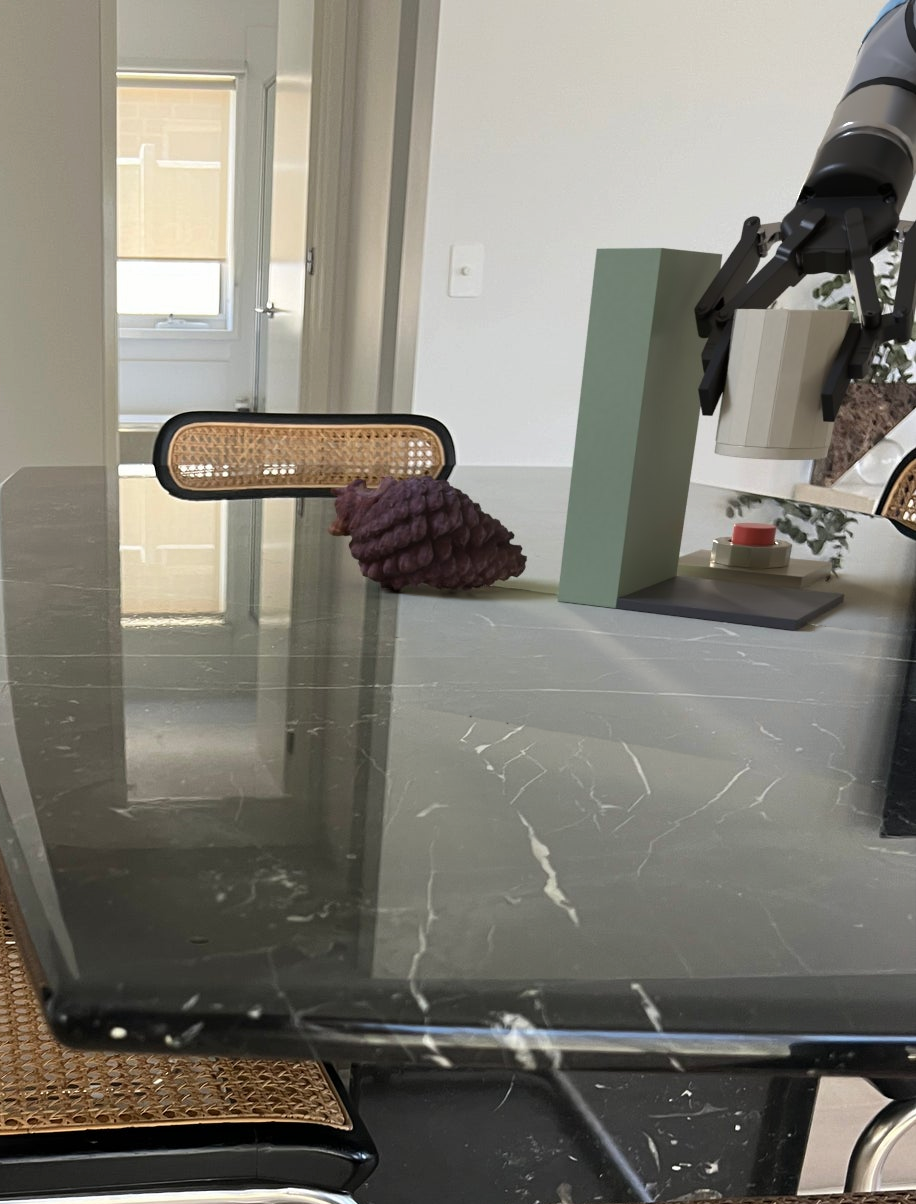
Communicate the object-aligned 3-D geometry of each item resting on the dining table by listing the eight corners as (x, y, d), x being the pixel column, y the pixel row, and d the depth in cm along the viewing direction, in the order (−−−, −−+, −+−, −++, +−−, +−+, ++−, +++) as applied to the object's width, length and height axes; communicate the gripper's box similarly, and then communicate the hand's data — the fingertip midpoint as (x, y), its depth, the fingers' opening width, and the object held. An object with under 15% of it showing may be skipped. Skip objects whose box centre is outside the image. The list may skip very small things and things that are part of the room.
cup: (838, 454, 111) (865, 310, 107) (810, 462, 105) (837, 310, 101) (732, 448, 115) (754, 309, 111) (699, 455, 109) (721, 308, 105)
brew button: (778, 545, 132) (781, 525, 131) (766, 549, 129) (769, 529, 128) (738, 541, 134) (741, 521, 133) (725, 546, 131) (728, 525, 130)
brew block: (830, 575, 133) (836, 541, 132) (800, 590, 125) (806, 555, 124) (699, 562, 139) (704, 529, 138) (663, 575, 132) (667, 541, 131)
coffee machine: (842, 603, 120) (909, 252, 109) (795, 630, 110) (864, 245, 99) (620, 578, 130) (661, 254, 120) (557, 601, 120) (596, 248, 109)
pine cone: (519, 579, 129) (555, 487, 121) (493, 652, 123) (530, 562, 115) (329, 515, 130) (353, 420, 122) (296, 585, 125) (319, 491, 117)
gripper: (1011, 208, 109) (919, 450, 104) (730, 214, 120) (633, 433, 115) (1017, 119, 103) (919, 372, 98) (720, 134, 114) (617, 362, 109)
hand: (765, 405), depth 106 cm, fingers closed on cup, 8 cm apart
